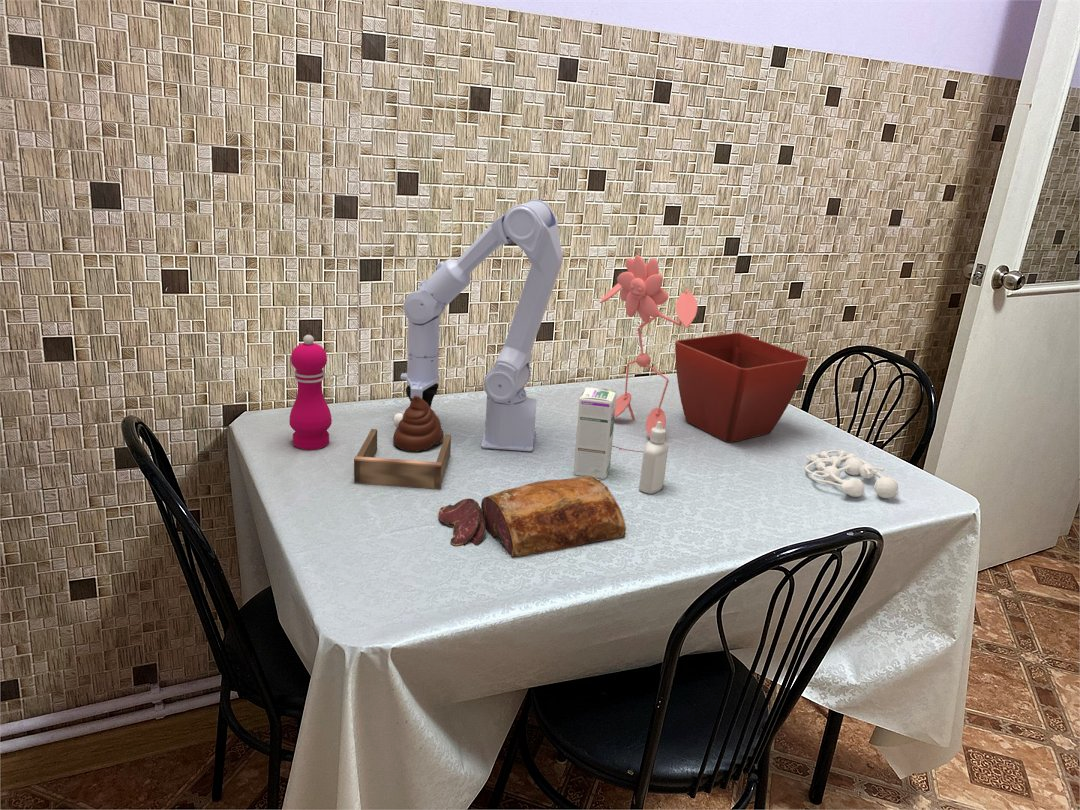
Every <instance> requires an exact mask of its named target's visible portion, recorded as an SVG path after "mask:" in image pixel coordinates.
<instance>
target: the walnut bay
mask: <svg viewBox="0 0 1080 810" xmlns="http://www.w3.org/2000/svg"><path fill="white" fill-rule="evenodd" d="M441 443H442V444H441V447H440V450H439V452H438V456H437V459H436V461H423V460H410V459H396V458H386V457H385V458H384V457H375V456H376V453H377V452H378V429H377V428H376V429H375V428H371V429H370V431H369V433H368V434H367V436H366V438H365V440H364V442H363V444H362V445H361V447H360V448H359V451H358V452H357V454H356V455H355V456H354V458H353V483H355V484H363V485H364V484H365V485H379V486H393V487H407V488H415V489H416V488H418V489H433V490H441V488H442V484H443V482H444V478H445V474H446V471H447V469H448V465H449V462H450V458H451V452H452V449H451V447H452V434H445V433H444V438H443V440H442V442H441Z"/></svg>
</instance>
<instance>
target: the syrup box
mask: <svg viewBox="0 0 1080 810" xmlns="http://www.w3.org/2000/svg"><path fill="white" fill-rule="evenodd" d="M578 399H579V400H578V411H577V412H578V413H577V427H576V438H575V439H576V440H575V452H574V453H575V454H574V465H573V466H574V467H573V475H575V476H579V477H584V476H593V477H595V478H597V479H598V480H606V478H607V476H608V473H609V470H610V468H611V459H612V450H613V447H612V446H613V439H614V426H615V418H616V416H615V405H616V399H617V391H616V390H613V389H607V388H600V387H584V390H583V391H582V393H581V394H580V397H579V398H578ZM614 417H615V418H614Z"/></svg>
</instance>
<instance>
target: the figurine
mask: <svg viewBox="0 0 1080 810" xmlns="http://www.w3.org/2000/svg"><path fill="white" fill-rule="evenodd" d="M625 267H626V270H627V271H623V272H621V273H620V274H619V275H618V276H617V278H616V280H617V283H616V284H615V285H614V286H613V287H612V288H611V289H609V290H608V292H606V293H605V295H604V296H603V298H601V300H600V301H599V303H600V304H602V303H604V302H606V301H608V300H610V299H611V298H612V297H614V296H615V295H616V294H618V293H619V292H620V293H619V296H620V297H619V298H620V300H621V301H623V302H625V311H626V312H625V313H626V315H627V317H630V318H632V317H635V315H636V313H638V316H639V317H640V319H641V321H642V322H643V323H642V324H639V325H638V327H637V332H638V341H639V347H640V353H639V354H638V355H637V356H636V358H635V360H631V361H630V362H627V364H626V373H625V374H626V375H625V387H624V388H625V391H624V393H623V394H621V395H620V396H618V397H616V405H615V417H614V419H615V418H617V417H618V416H620V415H621V414H623V412H625V410H626V409H627V408H628V409H629V413H630V417H631V420H632V421H634V420H635V419H636V418H635V415H634V411H633V409H632V408H633V407H632V405H631V401H632V394H631V393H630V392H629V393H628V378H629V366H630V365H631V364H632V365H633V364H635V363H636V364H637V365H638V366H639V367H640V368H647V367H648V368H649V369H651V371H654V373H656V374H658V375H659V376H661V377H662V378H663V379H665V380H666V382H665V386H664V388H663V392H662V394H661V398H660V401H659V405H658V407H655V408H653V409H652V410H651V411H650V413H649V414H648V415H647V418H646V420H645V429H646V432H647V434H648V437H649V438H650V435H651V429H652V428H654V427H656V425H657V422H658V421H660V422H662V428H663V429H665V428H666V423H667V421H666V415H665V411H664V410H663V409H662V408H661V407H662V404H663V400H664V399H665V398H664V397H665V394H666V391H667V388H668V385H669V382H670V381H669V378H668V377H666V376H665V375H663V374H662V373H660V372H659V371H658V370H657V369H655V368H654V367H652V366H651V365H650V363H651V356H650V355H649V354H647V353H644V348H643V339H642V331H641V329H642V328H644V327H645V326H646V325H647V324H649V323H651V322H652V321H653V320H656V319H657V318H662V319H664V320H665V321H666V320H667V321H668V322H670V323H673V324H675V325H678V326H680V327H681V326H682V325H683V326H685V327H686V328H687V329H688V328H689V327H690V325H692V323H693V321H694V320H695V318H696V317H697V313H698V309H699V308H698V302H697V301H698V300H697V299H696V297H695V296H694V293H692V292H690V290H689V289H685V290H684V292H683V293H681V294H680V295H679V296H678V299H677V300H676V304H675V305H676V306H675V312H676V316H677V318H678V320H679V321H677V320H676V319H672V318H670V317H669V316H666V315H664V314H663V313H662V311H660V309H659V306H660V305H663V304H665V303H666V302H667V301H668V299H669V294H668V293H667V292H666V290H664V289H663V288H662V285H663V281H664V278H663V275H662V274H660V272H659V264H658V260H657V258H655V257H652V258H651V259H650V260H649V261H648V262H647V264H646V262H645V260H644V259H643V257H642V256H641V255H640V254H636V255H635V256H634V258H631V257H629V258H626V260H625ZM665 436H667V435H666V434H665ZM612 448H616V449H618V450H621V451H627V452H629V451H630V452H635V453H636V452H637V453H643V451H641V450H640V451H639V450H632V449H627V448H623V447H618V446H616V445H615V446H614V445H612Z"/></svg>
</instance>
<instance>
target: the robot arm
mask: <svg viewBox="0 0 1080 810" xmlns="http://www.w3.org/2000/svg"><path fill="white" fill-rule="evenodd" d="M558 222H559V220H558V218H557V217H556V215H555V213H554V212H553V210H552V209H551V207H550V205H549V204H548V203H547V202H545V201H543V200H541V199H537V198H536V199H535V198H534V199H528V200H527V201H525V202H523V203H521V204H516V205H513V206H512V207H510V208H509V209H508V210H507V212H506V213H505V214H502V215H500V216H499V217H498V218H496V220H494V221H493V222H492V223H490V224H489V226H488V227H487V228H486V229H484V231H483V232H482V233H481V234H480V235H479V236H478V237H477V239H475V240H474V242H473V243H472V244H471V245H469V247H468V248H467V249H466V250H465V251H464V252H463V253H462V254H461V255H460V257H458V259H451V258H449V259H446V260H445V261H443V260H442V261H439V262H438V263H437V264H436V265H435V269H436V271H434V272H433V273H432V274H431V275H430V276H429V278H428V279H426V280H424V279H423V280H422V281H420V282H419V284H418V286H419V289H418V290H415V291H412V292H410V293H408V294H407V296H406V298H405V299H404V300H403V301H404V302H403V305H402V307H403V308H402V310H403V314H404V315H405V317H406V319H407V358H406V359H407V363H406V364H407V370H406V372H402V373H401V375H400V380H403V381H406V383H407V384H408V385H407V386H406V388H405V393H406V396H407V397H408V399H409V401H410V402H411V401H412V399H413V397H414V396H418V397H420V398H421V399H423V400H424V401H426V402H427V403H428V405H429V406H430V407H431V408H432V404H433V400H434V398H435V395H436V394H437V392H438V390H439V381H440V375H439V361H440V357H439V355H440V319H441V317H440V316H441V315H442V314H443V313H444V312H445V309H446V307H447V306H448V305H449V304H450V303H452V301H454V299H456V298H457V296H459V294H461V293H462V292H463V291H464V290H465V289H466V288H467V287H468V286H469V285H470V284H471V276H472V275H471V273H472V272H473V271H474V270H475V269H476V268H477V267H478V266H479V265H481V264H482V263H483V262H484V261H485V260H486V259H487V258H488V257H489V256H491V255H492V253H494V252H495V251H496V250H497V249H498V248H499V247H500V246H503V245H508V244H511V243H514V244H516V245H517V246H518V247H519V248H520V249H521V250H522V251H523V252H524V254H525V256H526V258H527V259H528V260H529V263H530V268H529V271H528V273H527V276H526V280H525V281H524V282H525V283H524V285H523V288H522V291H521V293H520V297H519V300H518V303H517V306H516V309H515V312H514V315H513V317H512V320H511V324H510V326H509V330H508V333H507V335H506V339H505V342H504V345H503V346H502V347H503V348H502V349H501V351H500V353H499V355H498V356H497V358H496V359H495V362H494V365H493V367H492V369H491V370H489V371H488V372H487V373H486V374H485V376H484V379H483V389H484V392H485V393H486V404H485V405H486V407H485V425H484V426H485V427H484V429H483V434H482V438H481V439H482V440H481V443H480V447H481V448H482V449H491V450H492V449H493V450H509V451H522V452H532V451H534V442H535V441H534V439H535V438H536V437H537V427H536V414H537V413H536V412H537V401H538V400H537V399H538V398H532V397H528V396H527V391H526V388H525V386H526V385H527V384H528V383H529V381H530V379H531V374H532V373H531V372H532V370H531V365H530V364H531V361H532V359H533V354H532V350H533V348H534V344H535V341H536V339H537V336H538V333H539V330H540V327H541V324H542V321H543V318H544V315H545V313H546V310H547V307H548V304H549V301H550V298H551V296H552V293H553V290H554V288H555V285H556V281H557V279H558V276H559V272H560V270H561V268H562V265H563V260H564V255H563V249H562V245H561V241H560V240H561V239H560V235H559V226H558V224H559V223H558Z"/></svg>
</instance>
